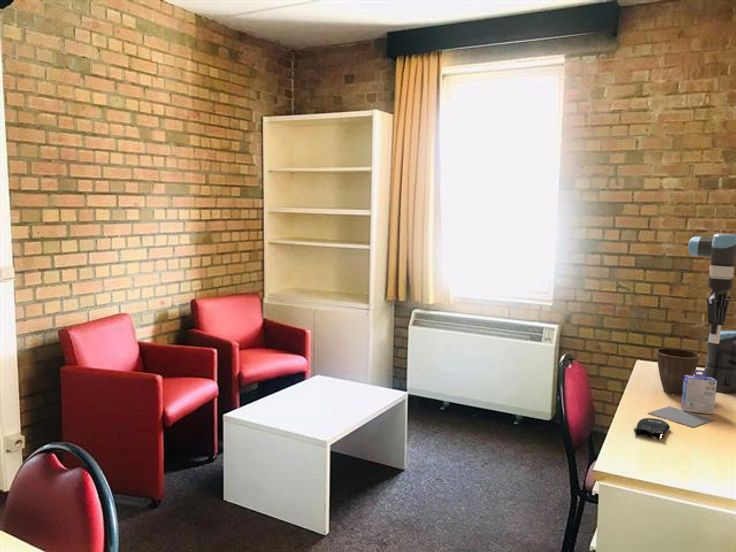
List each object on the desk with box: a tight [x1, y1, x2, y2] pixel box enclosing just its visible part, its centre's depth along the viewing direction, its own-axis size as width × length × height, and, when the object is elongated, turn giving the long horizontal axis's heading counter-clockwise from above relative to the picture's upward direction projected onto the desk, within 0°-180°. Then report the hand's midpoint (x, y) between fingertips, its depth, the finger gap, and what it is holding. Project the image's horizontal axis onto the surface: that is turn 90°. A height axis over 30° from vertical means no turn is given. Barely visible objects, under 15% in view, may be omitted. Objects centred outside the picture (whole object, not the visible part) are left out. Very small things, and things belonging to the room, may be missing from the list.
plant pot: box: [656, 347, 700, 396], centre depth 248 cm, size 15×15×16 cm
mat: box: [647, 405, 715, 429], centre depth 221 cm, size 14×16×1 cm
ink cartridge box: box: [680, 369, 717, 415], centre depth 227 cm, size 10×6×14 cm, turn 78°
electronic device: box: [633, 417, 671, 440], centre depth 206 cm, size 9×6×15 cm
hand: (714, 342), depth 229 cm, fingers closed
